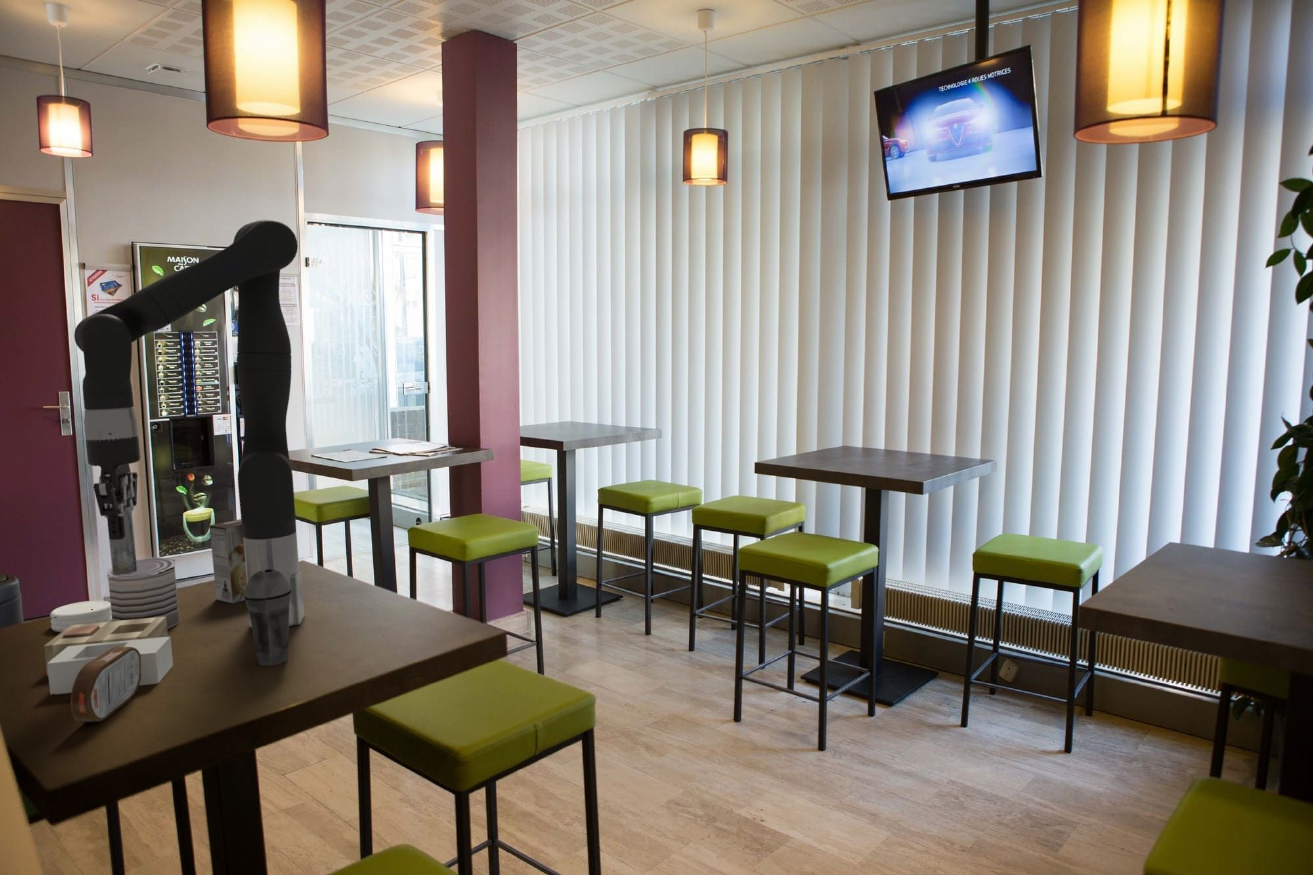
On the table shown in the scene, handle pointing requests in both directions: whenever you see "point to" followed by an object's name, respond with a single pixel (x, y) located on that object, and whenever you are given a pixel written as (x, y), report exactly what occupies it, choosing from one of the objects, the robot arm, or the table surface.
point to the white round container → (80, 614)
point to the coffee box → (228, 561)
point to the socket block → (109, 634)
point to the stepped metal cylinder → (124, 547)
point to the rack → (75, 657)
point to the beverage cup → (269, 614)
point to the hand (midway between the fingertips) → (121, 536)
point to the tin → (106, 684)
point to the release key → (81, 631)
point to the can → (145, 592)
